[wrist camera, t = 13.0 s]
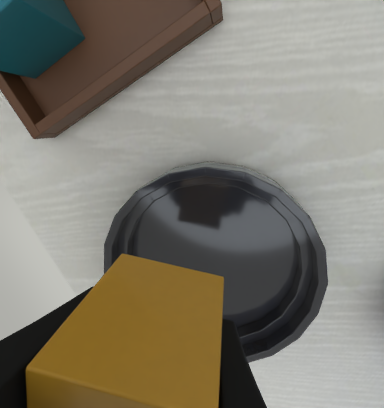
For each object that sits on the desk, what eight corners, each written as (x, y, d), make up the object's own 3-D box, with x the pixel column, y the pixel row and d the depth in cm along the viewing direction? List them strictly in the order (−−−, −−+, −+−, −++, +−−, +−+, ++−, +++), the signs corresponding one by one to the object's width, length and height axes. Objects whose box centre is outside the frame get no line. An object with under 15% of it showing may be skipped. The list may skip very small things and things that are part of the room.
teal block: (-7, 12, 15) (-121, -41, 10) (43, -36, 14) (-57, -121, 9) (35, 79, 15) (-52, 59, 11) (86, 38, 14) (15, -4, 10)
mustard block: (113, 333, 11) (28, 486, 6) (121, 252, 10) (23, 367, 5) (204, 356, 11) (184, 535, 6) (224, 275, 10) (218, 422, 5)
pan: (178, 356, 21) (171, 386, 18) (85, 217, 18) (63, 231, 16) (345, 300, 17) (363, 328, 15) (258, 120, 15) (263, 119, 12)
